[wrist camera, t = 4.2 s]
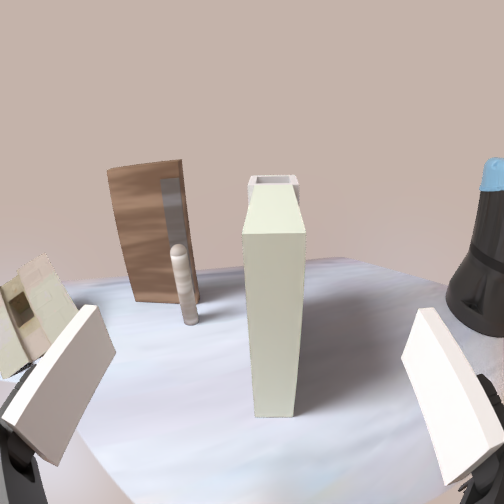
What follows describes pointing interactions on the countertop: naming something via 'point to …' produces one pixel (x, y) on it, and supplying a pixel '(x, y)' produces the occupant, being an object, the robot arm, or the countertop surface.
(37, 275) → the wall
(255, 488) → the countertop surface
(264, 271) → the cream thick square slab
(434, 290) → the countertop surface
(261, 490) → the countertop surface
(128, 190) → the walnut cabinet side
